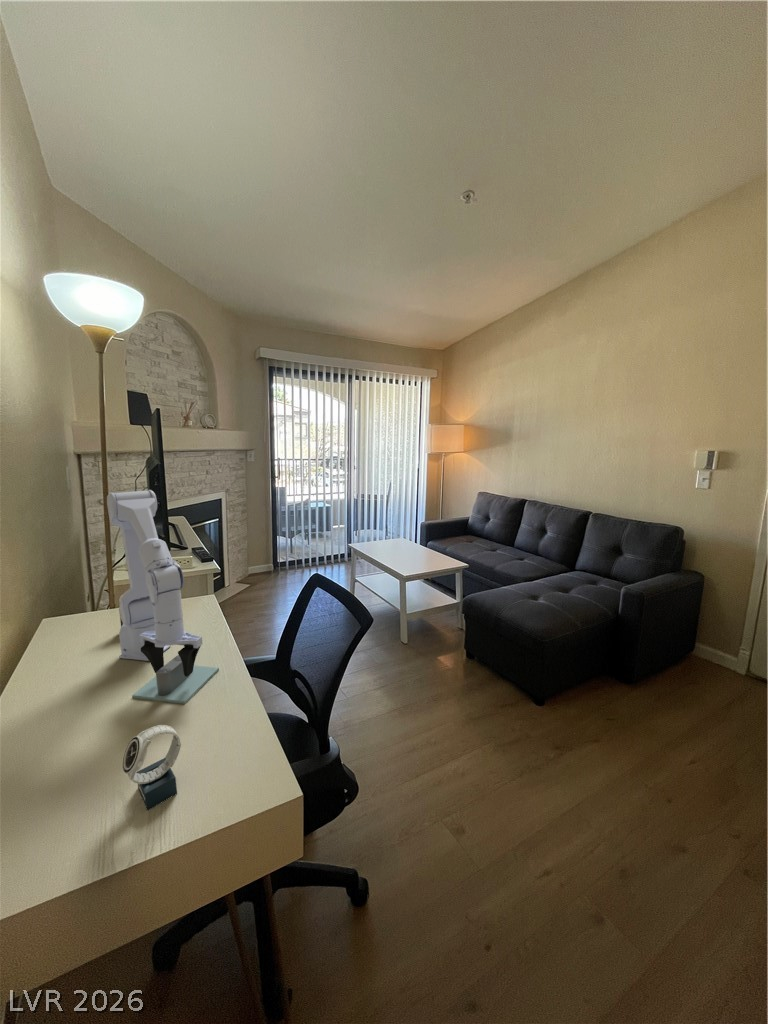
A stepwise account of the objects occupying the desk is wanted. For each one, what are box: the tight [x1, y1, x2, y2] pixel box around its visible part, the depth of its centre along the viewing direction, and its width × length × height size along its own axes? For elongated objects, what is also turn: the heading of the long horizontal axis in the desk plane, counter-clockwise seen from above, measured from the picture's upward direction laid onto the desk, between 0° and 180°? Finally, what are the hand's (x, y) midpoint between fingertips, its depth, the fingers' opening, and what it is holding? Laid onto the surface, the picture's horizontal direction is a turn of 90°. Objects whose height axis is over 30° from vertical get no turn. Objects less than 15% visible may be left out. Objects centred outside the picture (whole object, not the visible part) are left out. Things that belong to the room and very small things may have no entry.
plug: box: [155, 654, 190, 696], centre depth 92 cm, size 3×11×5 cm, turn 172°
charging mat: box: [132, 664, 220, 705], centre depth 93 cm, size 13×13×1 cm
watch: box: [122, 724, 182, 811], centre depth 63 cm, size 6×8×11 cm
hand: (174, 672), depth 91 cm, fingers open, 7 cm apart
